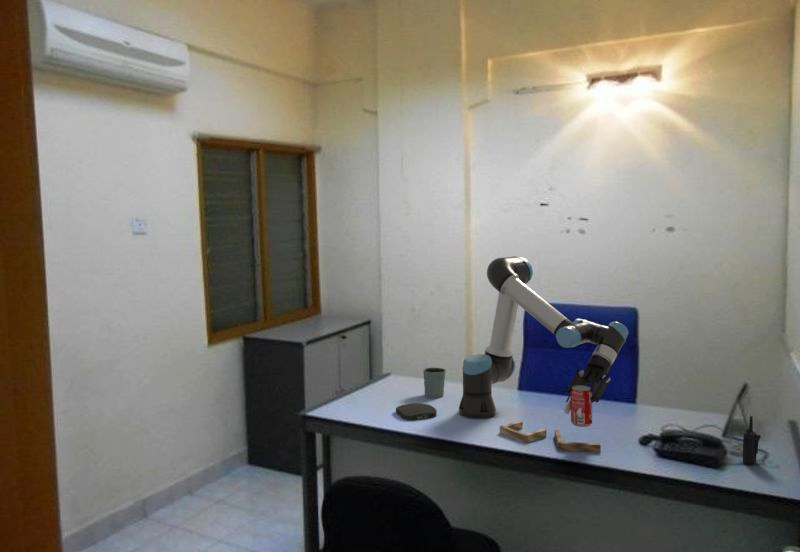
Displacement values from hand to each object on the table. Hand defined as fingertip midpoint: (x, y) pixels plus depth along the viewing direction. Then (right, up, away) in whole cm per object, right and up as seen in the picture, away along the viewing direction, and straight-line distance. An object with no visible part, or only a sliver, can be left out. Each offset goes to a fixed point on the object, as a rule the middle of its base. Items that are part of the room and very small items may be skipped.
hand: (572, 413), depth 208 cm
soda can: (+4, -4, +2) cm, 6 cm away
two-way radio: (+53, -12, -15) cm, 56 cm away
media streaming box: (-53, -10, +40) cm, 67 cm away
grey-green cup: (-44, -7, +66) cm, 80 cm away
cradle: (-1, -12, +1) cm, 12 cm away
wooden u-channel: (-14, -11, +13) cm, 22 cm away
